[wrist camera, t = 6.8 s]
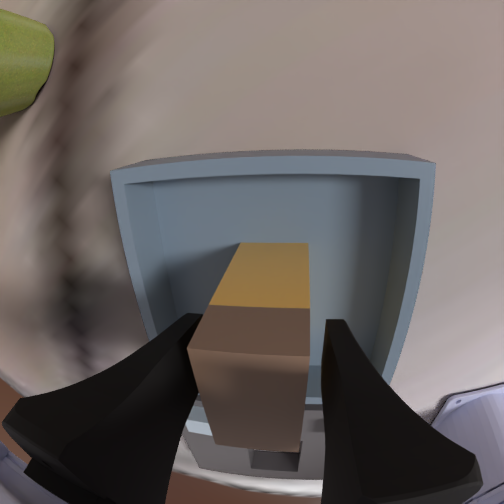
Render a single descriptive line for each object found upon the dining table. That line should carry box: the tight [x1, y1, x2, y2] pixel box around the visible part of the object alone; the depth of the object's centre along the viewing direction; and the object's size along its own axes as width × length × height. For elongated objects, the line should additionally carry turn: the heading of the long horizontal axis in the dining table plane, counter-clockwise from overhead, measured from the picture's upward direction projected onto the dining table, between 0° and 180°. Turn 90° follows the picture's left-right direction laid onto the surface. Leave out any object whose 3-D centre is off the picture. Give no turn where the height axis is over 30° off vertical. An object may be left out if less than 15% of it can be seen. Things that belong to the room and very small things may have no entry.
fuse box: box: [182, 395, 325, 480], centre depth 18 cm, size 14×12×3 cm
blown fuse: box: [187, 243, 310, 452], centre depth 11 cm, size 3×5×7 cm, turn 3°
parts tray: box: [110, 150, 436, 404], centre depth 13 cm, size 12×12×3 cm
